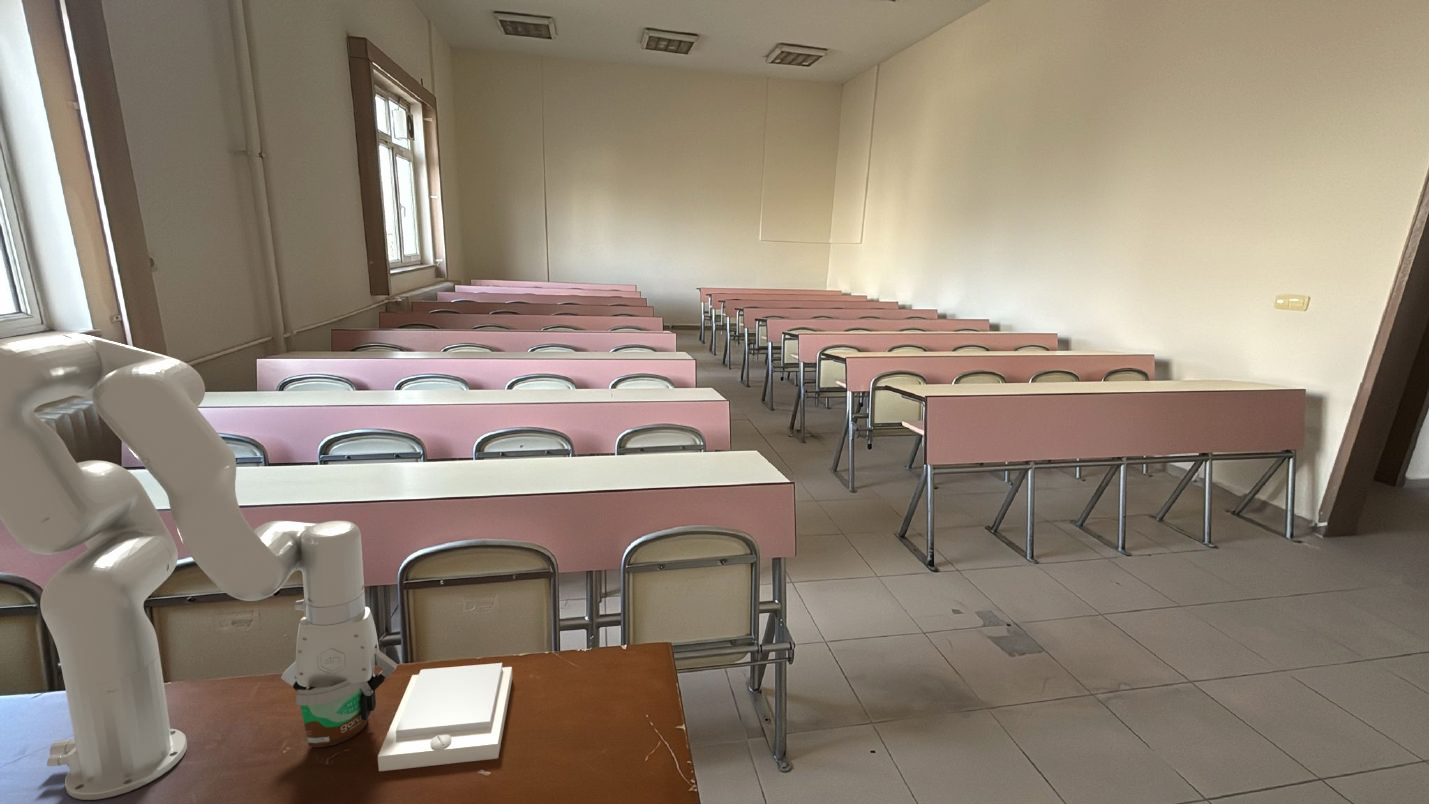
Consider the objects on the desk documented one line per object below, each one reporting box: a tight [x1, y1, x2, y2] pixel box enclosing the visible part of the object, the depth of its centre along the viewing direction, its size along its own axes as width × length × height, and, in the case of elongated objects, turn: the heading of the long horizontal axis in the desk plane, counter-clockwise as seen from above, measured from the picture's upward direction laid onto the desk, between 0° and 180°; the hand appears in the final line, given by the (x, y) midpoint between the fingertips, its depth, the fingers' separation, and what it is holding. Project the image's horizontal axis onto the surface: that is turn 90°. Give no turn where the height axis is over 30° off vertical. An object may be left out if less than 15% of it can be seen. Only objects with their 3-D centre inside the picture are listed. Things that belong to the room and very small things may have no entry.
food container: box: [295, 668, 369, 748], centre depth 98 cm, size 12×6×10 cm, turn 170°
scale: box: [377, 662, 513, 772], centre depth 101 cm, size 16×19×4 cm
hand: (343, 715), depth 98 cm, fingers closed on food container, 6 cm apart
